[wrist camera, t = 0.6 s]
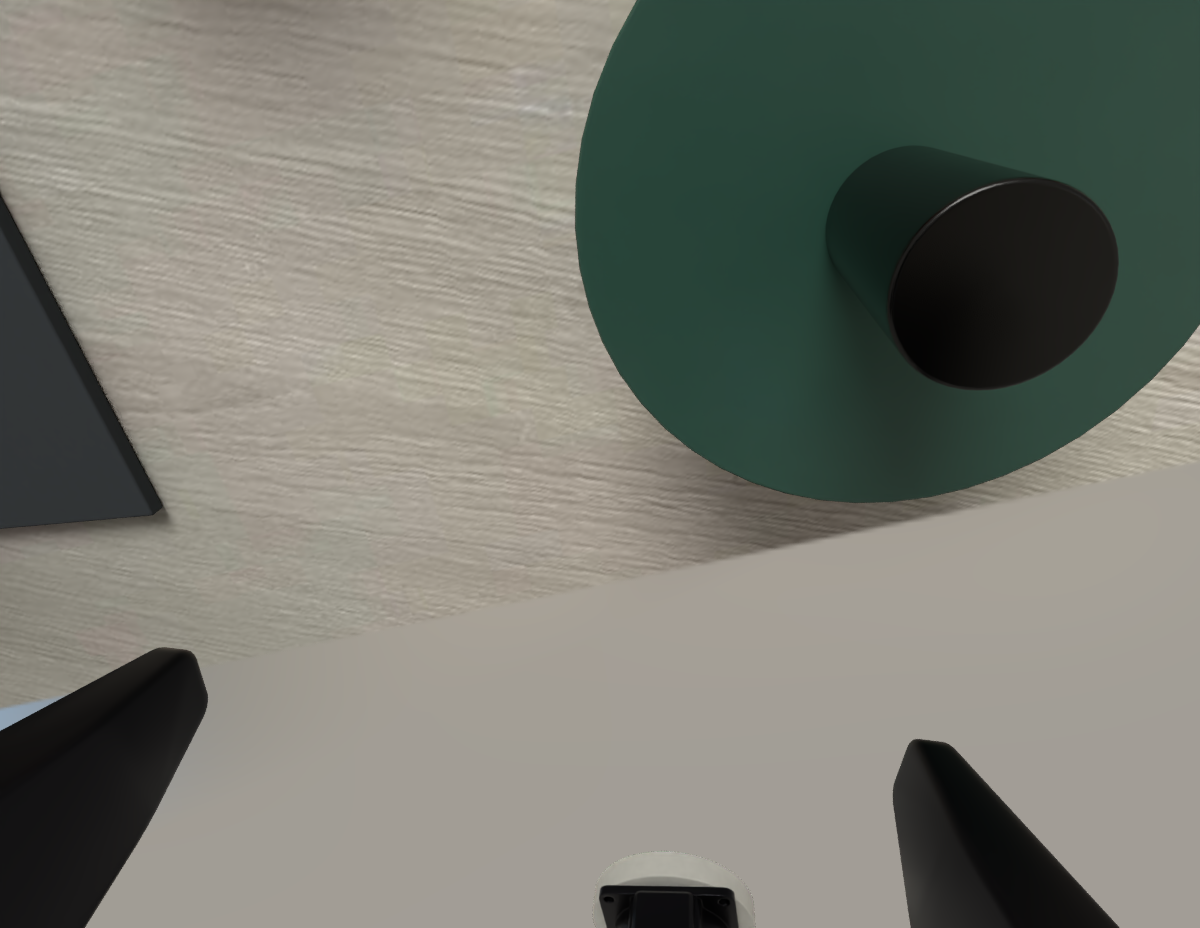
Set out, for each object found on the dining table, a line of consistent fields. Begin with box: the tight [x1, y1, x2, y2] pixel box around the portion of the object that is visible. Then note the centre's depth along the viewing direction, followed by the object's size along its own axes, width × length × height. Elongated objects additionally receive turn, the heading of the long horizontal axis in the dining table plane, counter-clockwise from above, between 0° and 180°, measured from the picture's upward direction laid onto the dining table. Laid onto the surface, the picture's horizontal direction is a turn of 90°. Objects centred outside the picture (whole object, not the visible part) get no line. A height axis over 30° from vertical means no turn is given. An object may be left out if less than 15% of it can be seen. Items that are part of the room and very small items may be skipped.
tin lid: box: [575, 0, 1200, 503], centre depth 10 cm, size 11×11×6 cm
